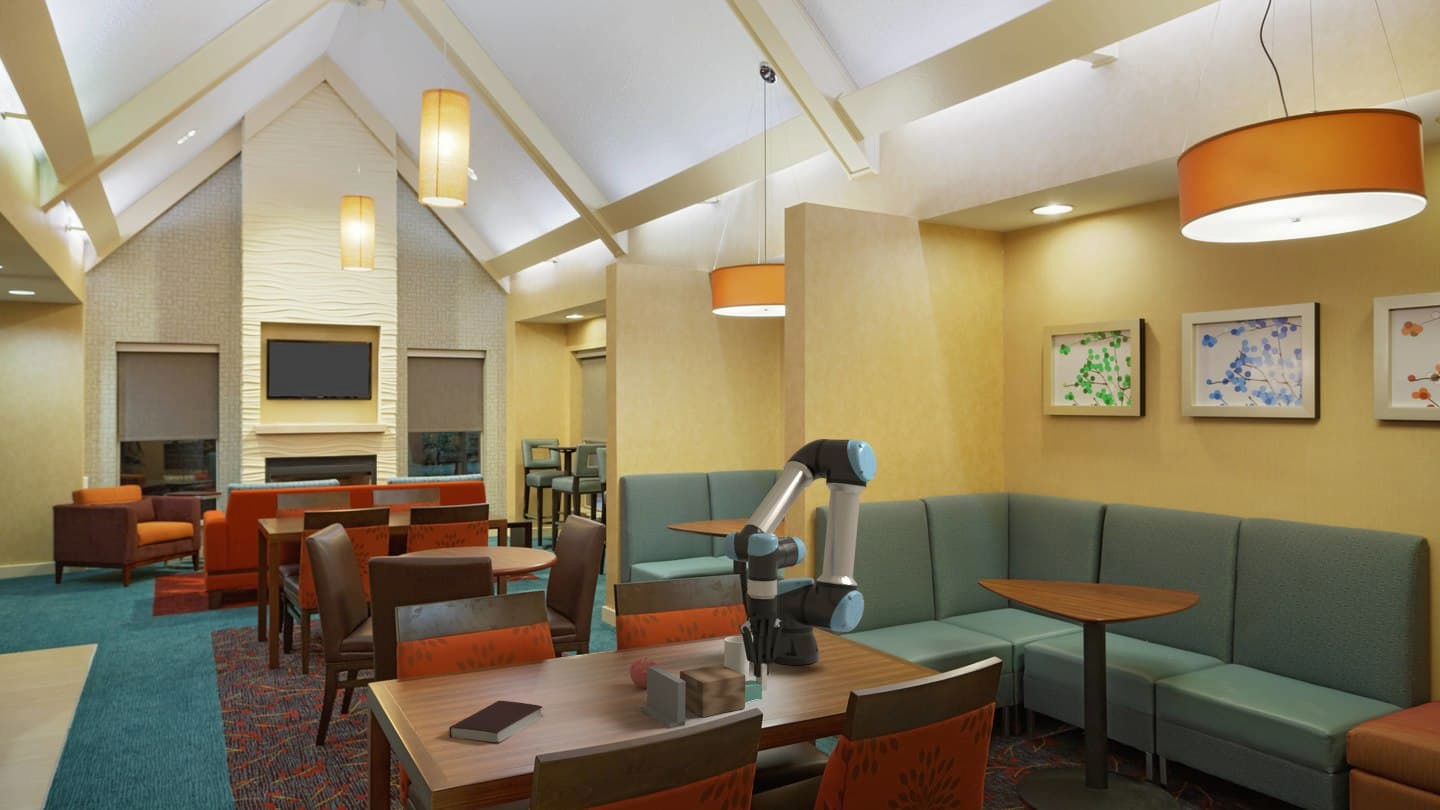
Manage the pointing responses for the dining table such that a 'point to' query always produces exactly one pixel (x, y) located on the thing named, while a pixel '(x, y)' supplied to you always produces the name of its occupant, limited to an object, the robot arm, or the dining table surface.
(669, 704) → the wall
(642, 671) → the apple
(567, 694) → the dining table surface
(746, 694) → the teal bar
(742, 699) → the block
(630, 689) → the dining table surface
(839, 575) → the robot arm
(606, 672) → the dining table surface
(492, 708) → the book
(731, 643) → the mug
